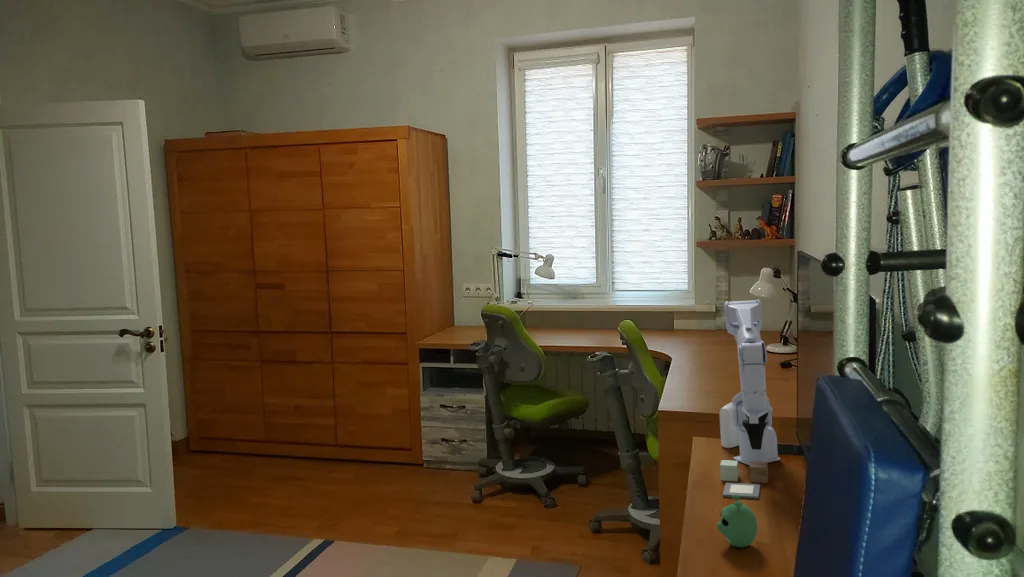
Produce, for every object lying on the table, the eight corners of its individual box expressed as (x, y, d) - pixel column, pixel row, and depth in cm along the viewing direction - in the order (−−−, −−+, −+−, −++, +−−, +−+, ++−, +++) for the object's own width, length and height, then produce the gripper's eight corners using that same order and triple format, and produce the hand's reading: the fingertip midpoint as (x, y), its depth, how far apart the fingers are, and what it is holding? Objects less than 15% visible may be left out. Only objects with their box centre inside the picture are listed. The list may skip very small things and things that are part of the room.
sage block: (722, 475, 180) (721, 460, 179) (738, 476, 178) (737, 460, 178) (720, 480, 176) (719, 465, 176) (737, 481, 174) (736, 465, 174)
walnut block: (751, 476, 177) (750, 461, 176) (768, 477, 175) (767, 462, 175) (750, 482, 173) (749, 466, 173) (767, 483, 172) (766, 467, 171)
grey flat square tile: (726, 484, 172) (725, 482, 172) (760, 486, 169) (760, 483, 169) (722, 496, 165) (722, 494, 165) (758, 499, 162) (758, 496, 162)
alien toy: (716, 538, 144) (713, 490, 143) (755, 538, 142) (752, 490, 142) (719, 553, 137) (716, 504, 136) (761, 553, 136) (757, 503, 135)
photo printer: (741, 438, 208) (739, 397, 207) (754, 441, 204) (751, 400, 203) (718, 446, 202) (716, 404, 201) (730, 449, 199) (728, 407, 198)
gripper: (770, 397, 164) (773, 454, 165) (772, 384, 178) (775, 436, 179) (738, 397, 167) (742, 452, 168) (743, 384, 180) (746, 435, 181)
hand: (757, 444), depth 173 cm, fingers open, 7 cm apart
